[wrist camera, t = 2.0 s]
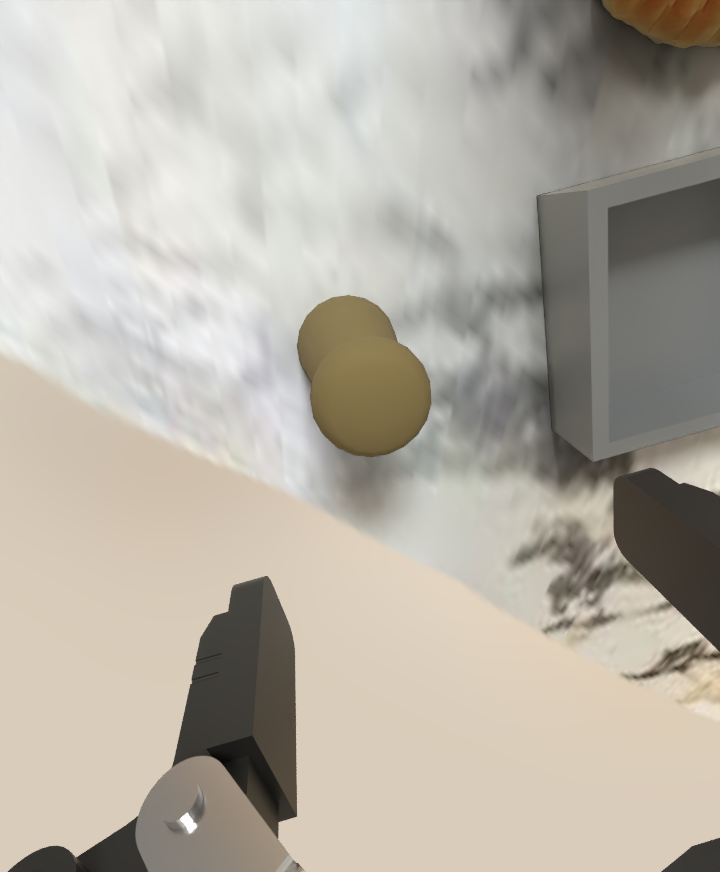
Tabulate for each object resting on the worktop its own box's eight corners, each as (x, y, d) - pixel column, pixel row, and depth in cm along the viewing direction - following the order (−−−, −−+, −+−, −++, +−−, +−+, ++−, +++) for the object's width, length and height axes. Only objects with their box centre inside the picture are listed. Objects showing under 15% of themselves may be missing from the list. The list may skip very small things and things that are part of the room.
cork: (413, 357, 30) (476, 426, 20) (334, 411, 30) (356, 503, 20) (360, 274, 27) (402, 303, 17) (276, 334, 28) (269, 397, 18)
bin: (536, 195, 27) (587, 190, 22) (787, 129, 27) (887, 110, 22) (551, 429, 33) (593, 461, 29) (753, 372, 33) (826, 396, 29)
